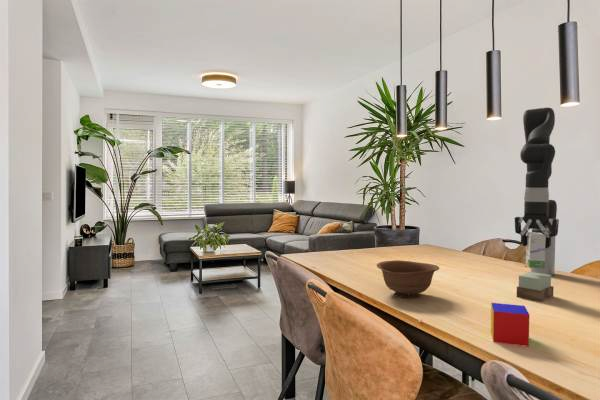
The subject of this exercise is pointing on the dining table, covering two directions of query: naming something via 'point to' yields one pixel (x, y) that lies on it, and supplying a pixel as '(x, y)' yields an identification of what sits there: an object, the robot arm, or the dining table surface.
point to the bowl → (407, 277)
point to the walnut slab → (535, 293)
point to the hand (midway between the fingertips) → (535, 246)
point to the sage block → (534, 281)
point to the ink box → (535, 250)
